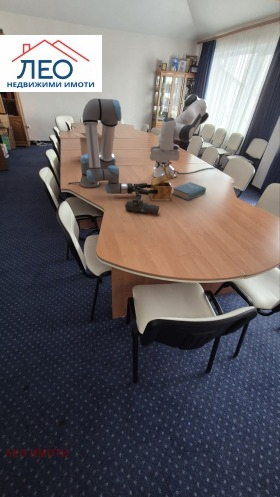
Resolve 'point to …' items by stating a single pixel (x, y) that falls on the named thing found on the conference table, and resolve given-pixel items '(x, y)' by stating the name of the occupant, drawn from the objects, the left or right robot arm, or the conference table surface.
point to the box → (84, 143)
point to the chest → (162, 191)
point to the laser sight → (141, 206)
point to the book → (189, 190)
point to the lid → (162, 177)
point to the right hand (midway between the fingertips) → (163, 166)
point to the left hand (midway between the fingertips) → (156, 189)
